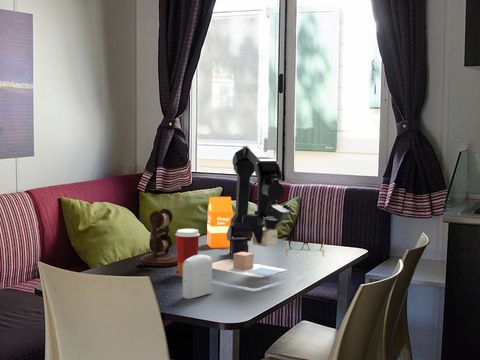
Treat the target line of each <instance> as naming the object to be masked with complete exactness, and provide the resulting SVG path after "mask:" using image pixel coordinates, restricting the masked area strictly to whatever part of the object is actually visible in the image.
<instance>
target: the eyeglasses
mask: <svg viewBox="0 0 480 360" xmlns="http://www.w3.org/2000/svg"><path fill="white" fill-rule="evenodd" d="M295 241H296V242H302V243H303V245H302V247H301V250H303V249H304V246H305V245H307V248H308V249H310V248H309V243H311V242H314V240H309V241H304V240H299V239H289V240H287V244H286V249H288V246H289V249H290V250H293V248H292V247H291V242H295ZM316 242H318V243H320V244H321V246H320V249H319V251H321V250H322V257H323V256H324V248H325V246H324V245H325V244H324V243H325V242H324V241H321V240H316ZM286 256H288V253H286ZM324 257H325V256H324Z"/></svg>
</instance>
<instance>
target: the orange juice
mask: <svg viewBox="0 0 480 360" xmlns="http://www.w3.org/2000/svg"><path fill="white" fill-rule="evenodd" d="M208 201H209V202H208V205H207V225H206V226H207V231H206V232H207V233H206V234H207V235H206V236H207V238H206V239H207V240H206V241H207V243H206V244H207V245H208V247H210V248H211V249H212V248H215V249H216V248H219V249H220V248H230V242H229V241H228V240H227V237H226V234H227V231H228V228H229V226H230V222H231V219H232V218H233V216H234V215H233V213H234V212H233V206H232V197H231V196H211V197H209V200H208Z"/></svg>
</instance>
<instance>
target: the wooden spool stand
mask: <svg viewBox="0 0 480 360" xmlns="http://www.w3.org/2000/svg"><path fill="white" fill-rule="evenodd" d="M172 221H173V213H172V211H171V210H170V209H168V208H162V209H160V210H154V211H152V212H151V213H150V215H149V222H150V224H151V225H150V234H149V235H150V236H149V241H148V242H149V243H148V246H149V250H150V251H151V253H147V254H144V255H142V256H141V257H140V258H139V263H140V265H141V267H142V268H143V267H144V266H145V265H146V266H155V267H156V266H157V267H165V268H169V266H176V265H178V258H177V254H175V253H171V252H169V251H170V249H171V247H172V246H173V240H172V238H171V236H170V235H169V233H170V230H171V227H170V224H171V222H172ZM163 233H164V234H163ZM159 234H161V235H159ZM158 235H159V237H158ZM163 251H164V252H163Z"/></svg>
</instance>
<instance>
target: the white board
mask: <svg viewBox="0 0 480 360" xmlns="http://www.w3.org/2000/svg"><path fill="white" fill-rule="evenodd" d="M212 270H216V271H221V272H222V271H224V272H227V273H228V272H229V273H232V274H238V275H242V276H243V275H244V276H250V277H254V278H259V279H260V278H264V277H268V276H273V275H275V274H276V275H277V274H279V273H282V272H285V271H287V269H285V268H280V267H276V266H268V265H263V264H257V263H253V268H251V269H247V270H241V269H236V268H233V259H231V258H228V259H227V258H226V259H224V260H220V261H219V260H218V261H216V262H212Z"/></svg>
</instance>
